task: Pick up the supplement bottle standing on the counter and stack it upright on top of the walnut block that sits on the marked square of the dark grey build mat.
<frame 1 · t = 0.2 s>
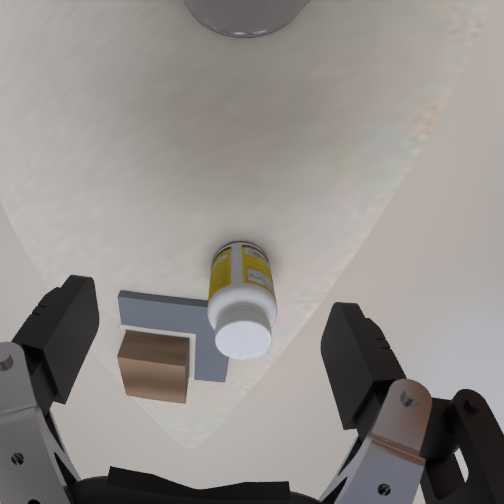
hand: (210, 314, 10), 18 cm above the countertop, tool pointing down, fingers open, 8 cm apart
build mat: (176, 339, 35), on the countertop
walnut block: (158, 355, 34), point 1 cm above the countertop, touching build mat
supplement bottle: (240, 265, 30), on the countertop
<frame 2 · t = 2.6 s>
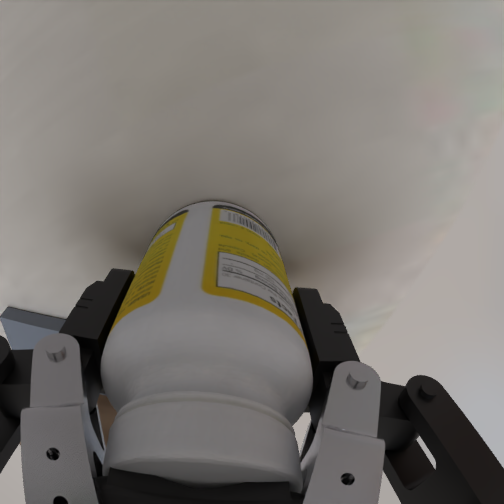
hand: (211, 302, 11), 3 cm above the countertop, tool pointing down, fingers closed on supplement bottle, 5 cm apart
build mat: (111, 395, 17), on the countertop
walnut block: (85, 419, 17), point 1 cm above the countertop, touching build mat
supplement bottle: (215, 258, 14), on the countertop, touching gripper
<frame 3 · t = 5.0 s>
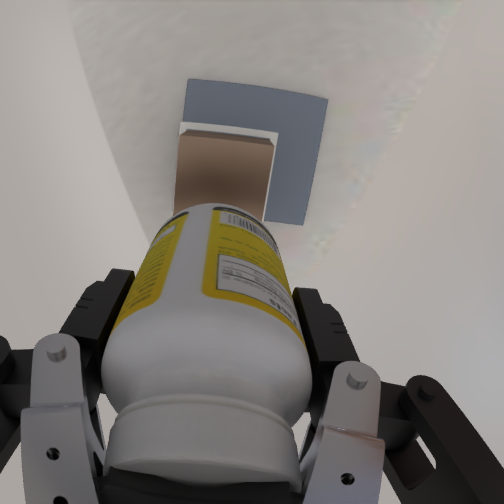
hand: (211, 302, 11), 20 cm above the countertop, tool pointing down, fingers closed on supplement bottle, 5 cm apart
build mat: (248, 151, 28), on the countertop
walnut block: (223, 173, 27), point 1 cm above the countertop, touching build mat
supplement bottle: (215, 259, 14), point 17 cm above the countertop, touching gripper
when the fingers open (9 cm above the countertop, at t = 7.5 s): supplement bottle stays where it is, resting on walnut block.
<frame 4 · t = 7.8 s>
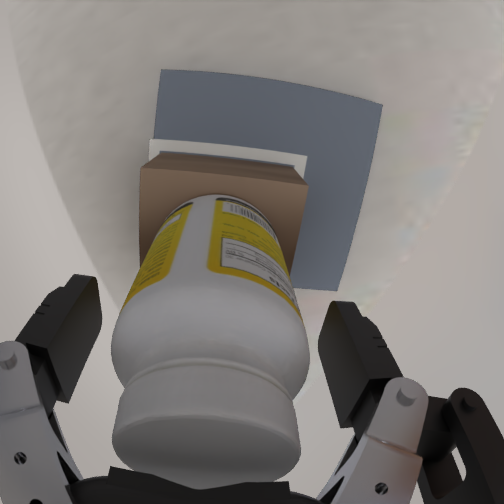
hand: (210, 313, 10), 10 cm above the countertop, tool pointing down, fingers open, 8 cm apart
build mat: (259, 184, 18), on the countertop
walnut block: (219, 220, 18), point 1 cm above the countertop, touching supplement bottle, build mat
supplement bottle: (217, 249, 14), point 5 cm above the countertop, touching walnut block
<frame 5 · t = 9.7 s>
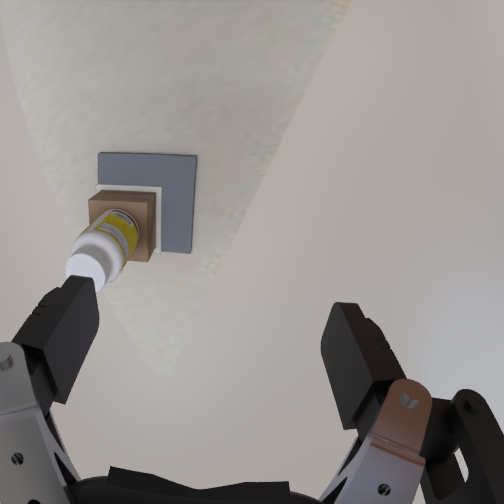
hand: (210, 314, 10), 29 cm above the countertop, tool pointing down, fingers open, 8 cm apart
build mat: (145, 201, 37), on the countertop
walnut block: (128, 219, 37), point 1 cm above the countertop, touching supplement bottle, build mat
supplement bottle: (118, 230, 34), point 5 cm above the countertop, touching walnut block
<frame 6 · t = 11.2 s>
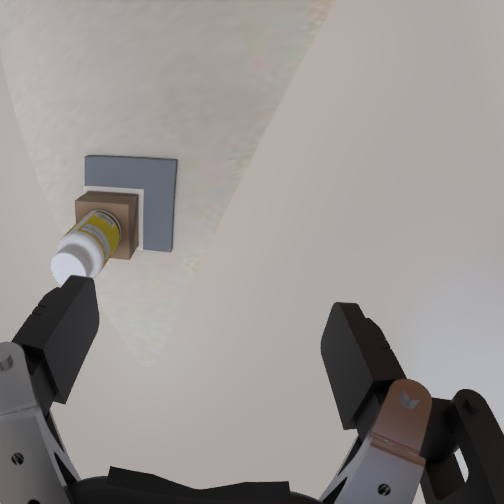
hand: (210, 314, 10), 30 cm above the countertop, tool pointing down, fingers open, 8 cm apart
build mat: (129, 202, 39), on the countertop
walnut block: (112, 218, 39), point 1 cm above the countertop, touching supplement bottle, build mat
supplement bottle: (102, 229, 35), point 5 cm above the countertop, touching walnut block
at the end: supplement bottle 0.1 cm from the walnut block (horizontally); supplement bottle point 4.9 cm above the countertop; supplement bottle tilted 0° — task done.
